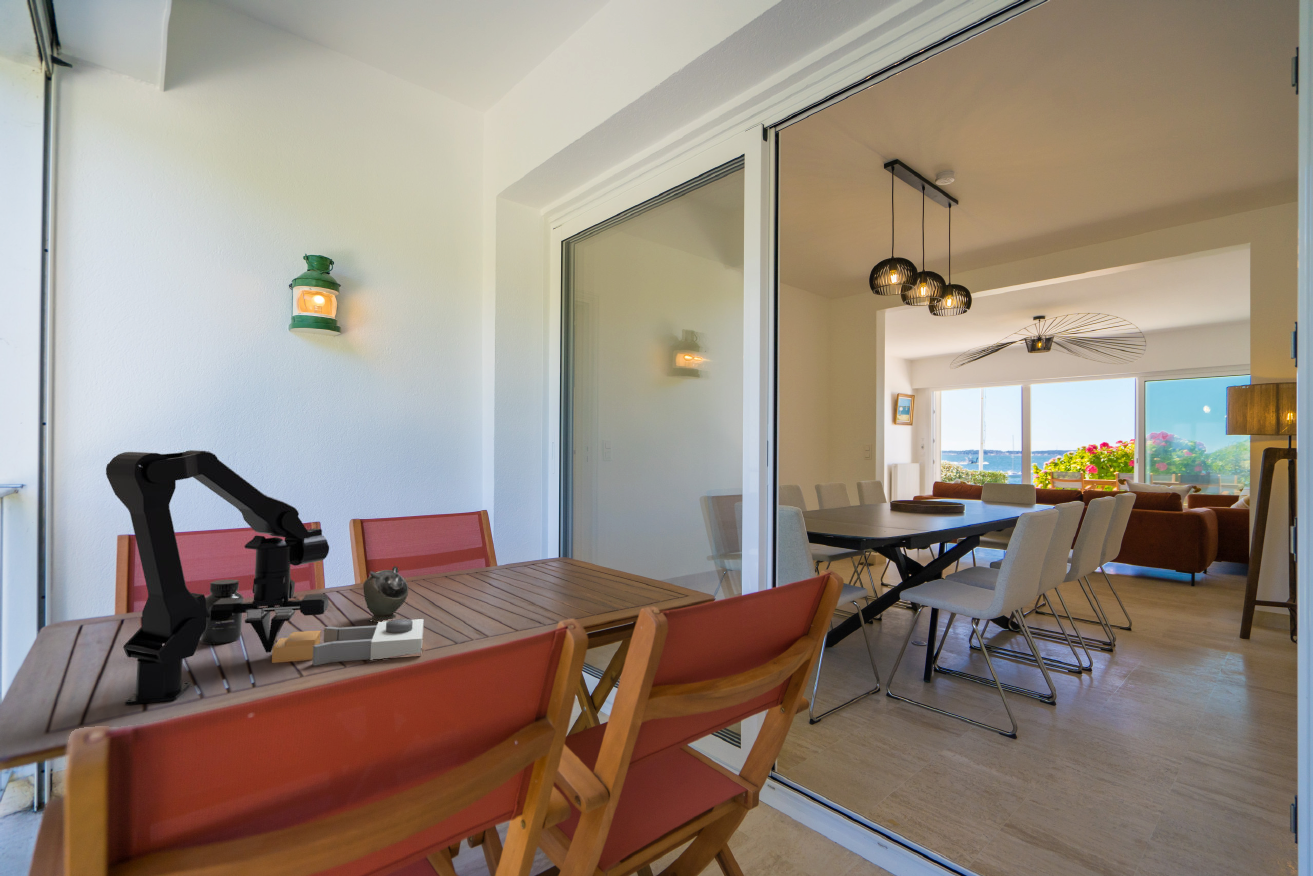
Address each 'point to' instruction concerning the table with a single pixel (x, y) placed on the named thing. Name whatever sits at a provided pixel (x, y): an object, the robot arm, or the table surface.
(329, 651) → the forked block with knob
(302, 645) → the orange stepped block
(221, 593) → the supplement bottle
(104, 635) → the table surface
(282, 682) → the table surface
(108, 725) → the table surface
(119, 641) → the table surface
